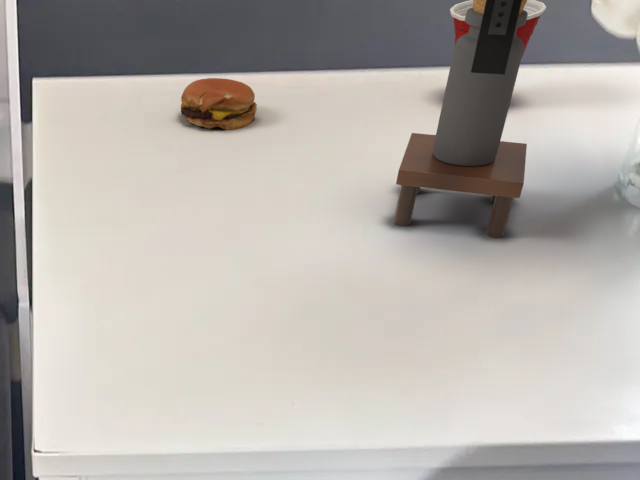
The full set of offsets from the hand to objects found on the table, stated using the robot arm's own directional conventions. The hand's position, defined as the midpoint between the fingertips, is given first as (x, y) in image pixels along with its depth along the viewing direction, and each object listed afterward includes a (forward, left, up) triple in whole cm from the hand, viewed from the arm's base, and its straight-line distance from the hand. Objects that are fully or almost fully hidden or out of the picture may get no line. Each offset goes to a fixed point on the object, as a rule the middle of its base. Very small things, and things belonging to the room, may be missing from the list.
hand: (491, 52), depth 87 cm
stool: (0, 0, -16) cm, 16 cm away
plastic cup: (0, -38, -16) cm, 41 cm away
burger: (+30, -22, -16) cm, 40 cm away
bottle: (0, 0, -10) cm, 10 cm away
